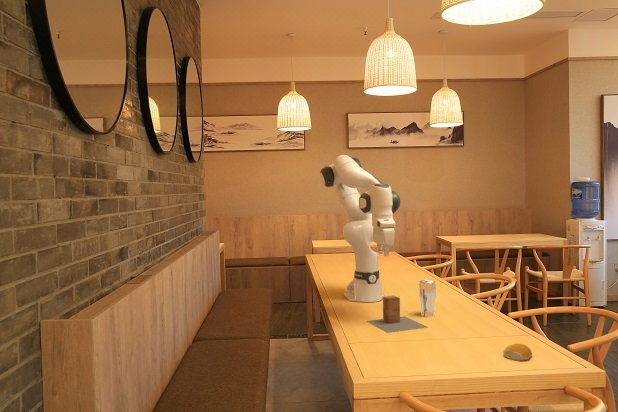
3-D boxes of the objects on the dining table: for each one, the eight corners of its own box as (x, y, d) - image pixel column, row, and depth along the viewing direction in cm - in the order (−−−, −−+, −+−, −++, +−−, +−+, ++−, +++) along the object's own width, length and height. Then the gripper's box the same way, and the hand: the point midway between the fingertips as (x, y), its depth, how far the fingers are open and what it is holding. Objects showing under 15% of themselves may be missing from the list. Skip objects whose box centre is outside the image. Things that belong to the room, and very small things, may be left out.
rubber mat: (366, 322, 210) (366, 321, 210) (404, 317, 216) (404, 316, 216) (387, 334, 193) (387, 332, 193) (428, 328, 199) (428, 327, 199)
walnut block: (383, 320, 210) (382, 296, 209) (393, 319, 211) (393, 295, 211) (389, 323, 205) (388, 299, 204) (400, 322, 207) (399, 297, 206)
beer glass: (424, 319, 213) (423, 283, 212) (416, 315, 220) (416, 280, 219) (439, 317, 215) (438, 282, 214) (431, 313, 222) (430, 279, 221)
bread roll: (534, 355, 168) (534, 342, 168) (527, 363, 161) (527, 350, 160) (507, 350, 173) (507, 338, 172) (500, 358, 165) (500, 346, 165)
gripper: (369, 221, 226) (369, 252, 226) (381, 223, 205) (382, 258, 206) (382, 220, 227) (383, 251, 227) (396, 223, 206) (397, 257, 207)
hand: (383, 254), depth 216 cm, fingers open, 8 cm apart
